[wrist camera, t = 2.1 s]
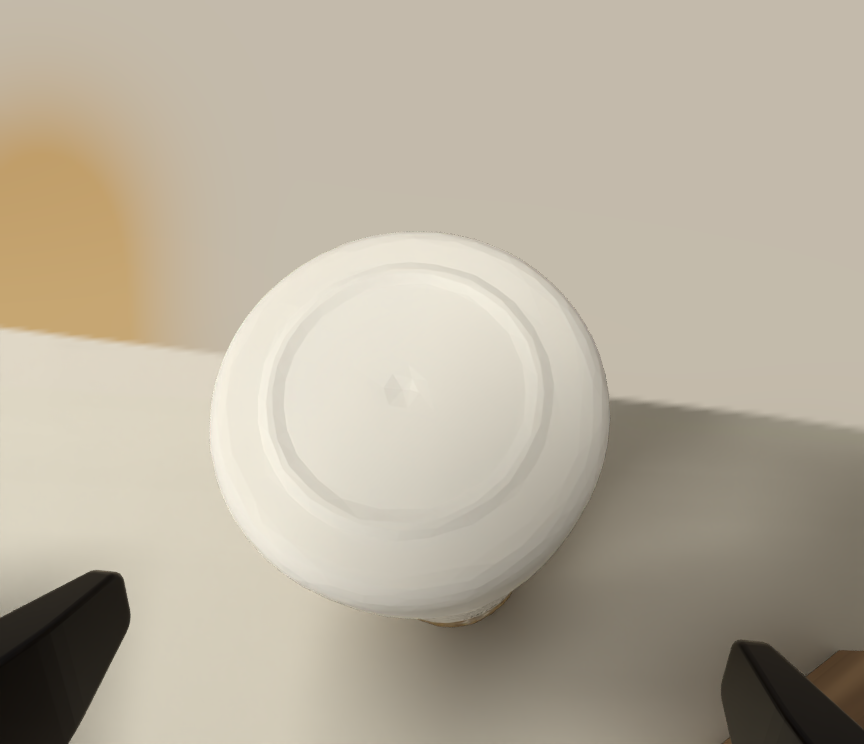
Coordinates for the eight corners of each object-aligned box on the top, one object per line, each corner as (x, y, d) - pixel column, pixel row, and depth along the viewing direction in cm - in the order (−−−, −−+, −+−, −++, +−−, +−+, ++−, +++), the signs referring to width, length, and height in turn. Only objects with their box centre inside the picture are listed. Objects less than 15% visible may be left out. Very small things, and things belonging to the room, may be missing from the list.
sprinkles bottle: (477, 455, 20) (484, 162, 8) (551, 583, 18) (714, 468, 6) (353, 520, 19) (143, 316, 7) (417, 660, 18) (287, 711, 5)
